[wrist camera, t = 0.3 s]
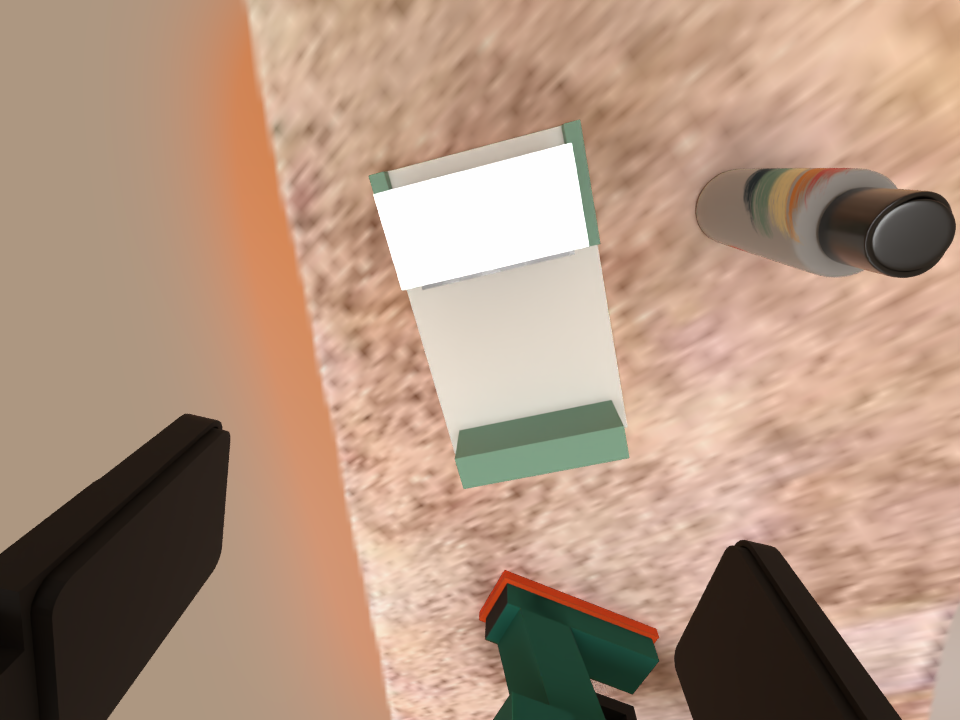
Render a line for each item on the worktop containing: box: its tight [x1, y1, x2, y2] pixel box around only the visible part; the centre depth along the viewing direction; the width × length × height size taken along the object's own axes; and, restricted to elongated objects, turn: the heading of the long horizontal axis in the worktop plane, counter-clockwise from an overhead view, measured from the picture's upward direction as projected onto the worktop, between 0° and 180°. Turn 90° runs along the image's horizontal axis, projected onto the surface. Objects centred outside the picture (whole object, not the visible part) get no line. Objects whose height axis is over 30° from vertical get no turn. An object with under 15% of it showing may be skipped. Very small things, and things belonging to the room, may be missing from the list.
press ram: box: [374, 143, 589, 290], centre depth 36 cm, size 7×12×10 cm, turn 104°
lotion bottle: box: [696, 168, 956, 278], centre depth 32 cm, size 6×6×20 cm
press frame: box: [369, 120, 629, 489], centre depth 42 cm, size 26×16×6 cm, turn 14°
